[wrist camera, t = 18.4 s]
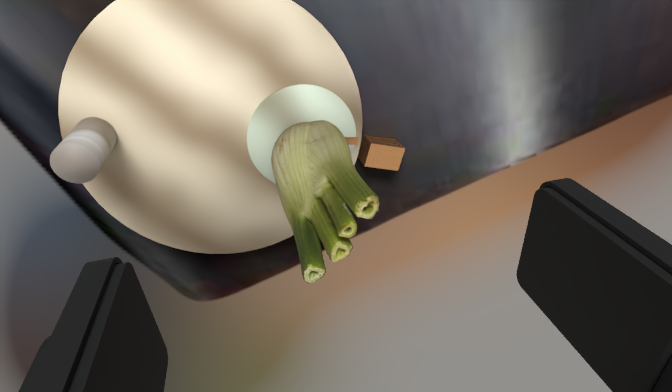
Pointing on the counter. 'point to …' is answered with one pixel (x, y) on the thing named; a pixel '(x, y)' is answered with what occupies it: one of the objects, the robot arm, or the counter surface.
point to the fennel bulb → (320, 192)
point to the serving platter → (197, 115)
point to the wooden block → (381, 152)
